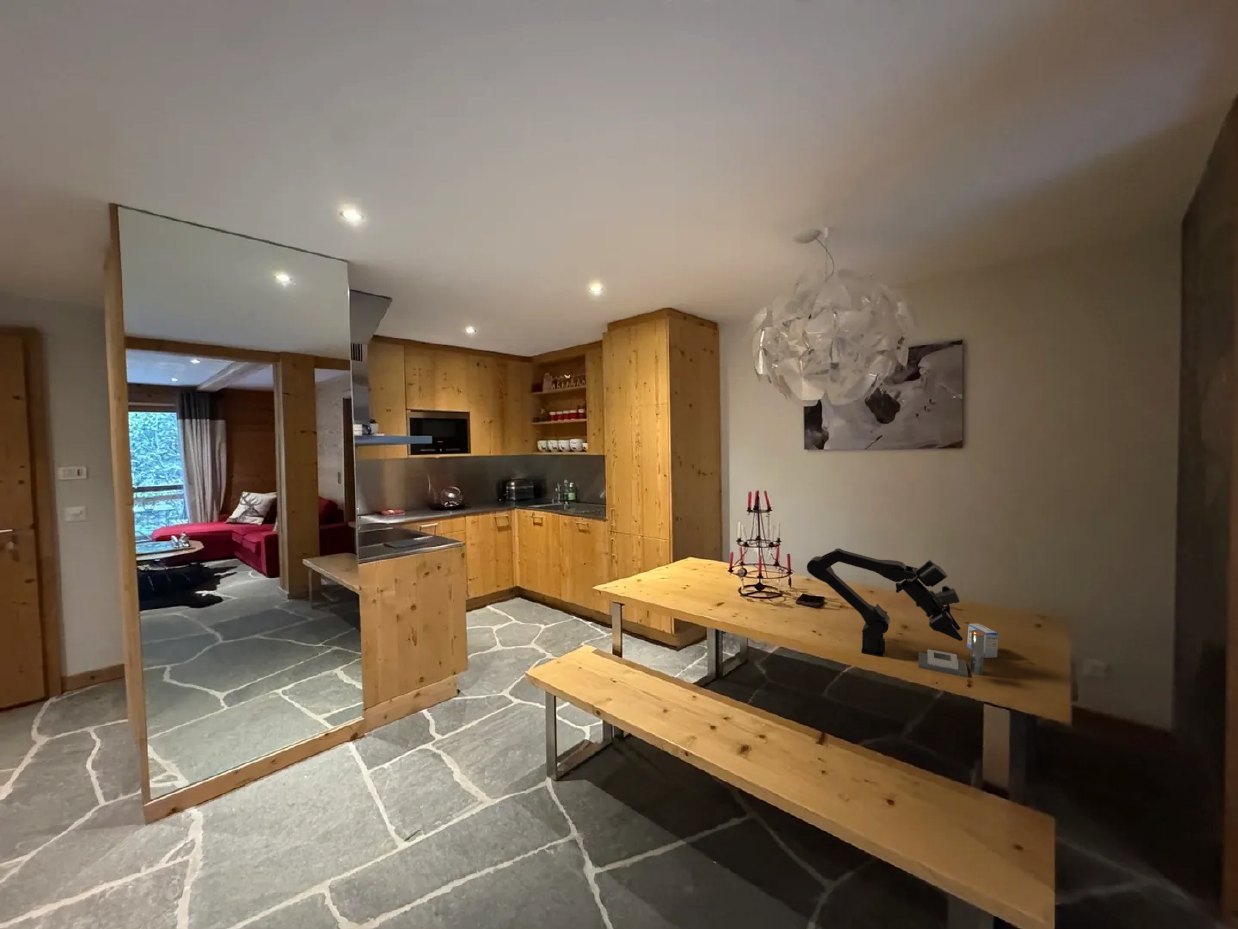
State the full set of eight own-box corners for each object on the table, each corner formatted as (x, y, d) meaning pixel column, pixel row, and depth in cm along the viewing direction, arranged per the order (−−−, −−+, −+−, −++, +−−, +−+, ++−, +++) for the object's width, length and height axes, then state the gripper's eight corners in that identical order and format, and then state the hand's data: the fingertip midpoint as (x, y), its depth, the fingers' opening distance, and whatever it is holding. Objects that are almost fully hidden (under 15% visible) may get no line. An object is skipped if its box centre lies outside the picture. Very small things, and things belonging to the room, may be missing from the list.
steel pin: (970, 673, 155) (972, 632, 154) (969, 669, 157) (971, 629, 156) (983, 676, 153) (985, 635, 152) (982, 671, 156) (983, 631, 155)
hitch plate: (918, 667, 159) (918, 658, 159) (918, 655, 167) (918, 646, 167) (968, 677, 152) (968, 668, 152) (965, 664, 161) (965, 655, 160)
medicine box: (966, 647, 172) (967, 623, 172) (978, 647, 173) (979, 623, 172) (984, 658, 164) (986, 633, 164) (997, 657, 165) (998, 632, 164)
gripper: (943, 588, 150) (987, 631, 145) (940, 572, 166) (980, 610, 161) (912, 609, 155) (954, 651, 150) (912, 592, 171) (950, 629, 166)
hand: (960, 634), depth 157 cm, fingers open, 9 cm apart
